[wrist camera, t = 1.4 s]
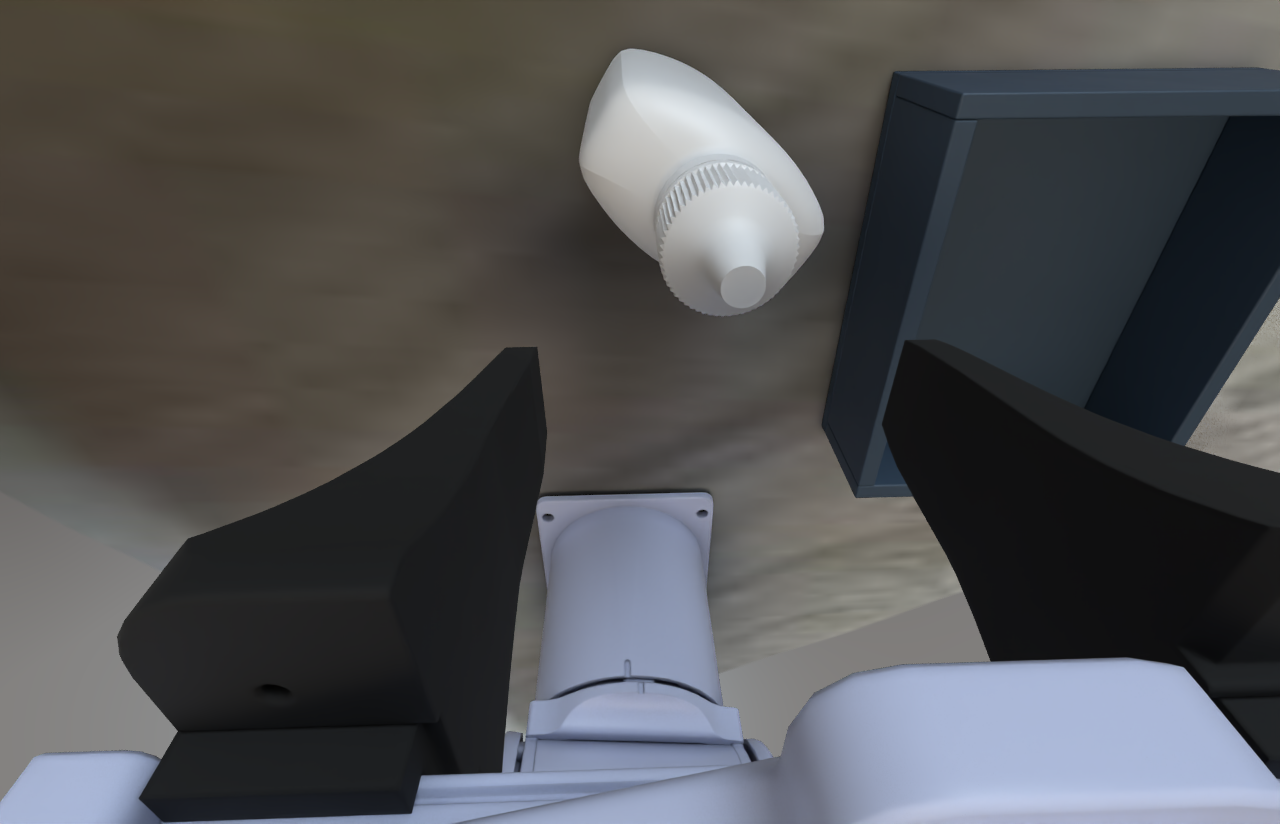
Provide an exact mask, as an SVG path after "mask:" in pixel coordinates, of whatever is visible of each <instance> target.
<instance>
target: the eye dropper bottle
mask: <svg viewBox="0 0 1280 824" xmlns="http://www.w3.org/2000/svg"><path fill="white" fill-rule="evenodd" d="M579 164H580V168H581V171H582V175H583V178H584V180H585V182H586V184H587V185H588V187H589V189H590V191H591V192H592V194H593V195H594V197H595V198H596V200H597V201H598V202H599V204H600V205H601V207H602V208H603V209H604V210H605V212H606V213H607V214H608V216H609V217H610V218H611V219H612V221H613V222H614V223H615V224H616V225H617V226H618V227H619V229H620V230H621V231H622V232H623V233H624V234H625V235H626V236H627V237H628V238H629V239H630V240H632V241H633V242H634V243H635V244H636V245H637V246H638V247H639V248H641V249H642V250H643V251H644V252H646V253H647V254H648V255H649V256H651V257H652V258H653V259H655V260H656V261H658V262H659V265H660V267H661V273H662V274H663V278H664V280H665V281H666V285H667V286H669V287H670V291H671V292H674V296H675V297H678V298H679V301H681V302H684V305H687V306H689V307H690V309H695V310H696V312H700V311H701V312H702V314H706V313H707V314H708V315H714V316H715V317H716V316H719V315H720V316H721V317H723V316H726V315H727V316H729V317H730V316H732V315H735V316H736V315H738V314H744V313H745V312H750V311H751V310H752V309H757V308H758V306H763V304H764V303H766V302H768V301H769V299H771V298H773V297H774V296H775V294H776V293H778V292H779V291H780V289H781V288H782V287H784V285H785V284H786V283H787V282H788V281H789V280H790V279H791V278H792V276H793V275H794V274H795V273H796V272H797V271H798V270H799V268H800V267H801V266H802V265H803V264H804V262H805V261H806V260H807V259H808V257H809V256H810V255H811V253H812V252H813V251H814V249H815V248H816V246H817V245H818V244H819V242H820V239H821V237H822V234H823V232H824V217H823V214H822V211H821V208H820V205H819V203H818V201H817V199H816V197H815V195H814V193H813V191H812V189H811V187H810V185H809V184H808V182H807V180H806V179H805V177H804V176H803V174H802V173H801V171H800V170H799V168H798V167H797V166H796V164H795V163H794V162H793V160H792V159H791V158H790V157H789V155H788V154H787V153H786V152H785V151H784V150H783V149H782V148H781V147H780V145H779V144H778V143H777V142H776V141H775V140H774V139H773V138H772V137H771V136H770V135H769V134H768V133H767V132H766V131H765V130H764V129H763V128H762V127H761V126H760V125H759V124H758V123H757V122H756V121H755V120H754V119H753V118H752V117H751V116H750V115H749V114H748V113H747V112H746V111H745V110H744V109H743V108H742V107H741V106H740V105H739V104H738V103H737V102H736V101H735V100H734V99H733V98H732V97H731V96H730V95H729V94H728V93H727V92H726V91H725V90H723V89H722V88H721V87H720V86H719V85H717V84H716V83H715V82H714V81H712V80H711V79H710V78H708V77H707V76H705V75H704V74H702V73H701V72H699V71H697V70H696V69H694V68H692V67H690V66H688V65H686V64H684V63H682V62H680V61H678V60H675V59H673V58H670V57H667V56H664V55H661V54H658V53H654V52H650V51H646V50H640V49H627V50H622V51H620V52H619V53H618V54H617V55H616V56H615V57H614V58H613V60H612V62H611V64H610V65H609V67H608V69H607V70H606V72H605V74H604V76H603V78H602V80H601V82H600V84H599V85H598V87H597V89H596V91H595V93H594V95H593V97H592V99H591V101H590V105H589V110H588V114H587V118H586V123H585V128H584V133H583V137H582V142H581V147H580V153H579Z"/></svg>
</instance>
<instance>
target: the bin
mask: <svg viewBox="0 0 1280 824" xmlns="http://www.w3.org/2000/svg"><path fill="white" fill-rule="evenodd" d="M1279 298H1280V71H1279V70H1269V69H1264V68H1175V69H1080V70H985V71H896V72H894V74H893V78H892V83H891V88H890V93H889V98H888V103H887V108H886V113H885V118H884V123H883V127H882V132H881V137H880V142H879V147H878V152H877V157H876V162H875V167H874V172H873V177H872V181H871V186H870V191H869V196H868V201H867V206H866V211H865V216H864V221H863V226H862V231H861V236H860V240H859V245H858V250H857V255H856V260H855V265H854V270H853V275H852V280H851V285H850V290H849V294H848V299H847V304H846V309H845V314H844V319H843V324H842V329H841V334H840V339H839V344H838V348H837V353H836V358H835V363H834V368H833V373H832V378H831V383H830V388H829V393H828V398H827V402H826V407H825V412H824V417H823V422H822V427H823V429H824V431H825V433H826V435H827V438H828V440H829V442H830V444H831V446H832V448H833V450H834V453H835V455H836V457H837V459H838V461H839V463H840V466H841V468H842V470H843V472H844V474H845V476H846V479H847V481H848V483H849V485H850V487H851V489H852V491H853V494H854V496H855V497H856V498H872V497H911V496H913V495H912V493H911V491H910V490H909V488H908V486H907V484H906V482H905V481H904V479H903V477H902V475H901V473H900V471H899V469H898V467H897V466H896V463H895V461H894V458H893V455H892V453H891V450H890V448H889V445H888V442H887V439H886V436H885V433H884V430H883V427H882V421H883V417H884V414H885V410H886V406H887V403H888V399H889V395H890V392H891V388H892V385H893V381H894V377H895V374H896V370H897V366H898V363H899V359H900V356H901V352H902V348H903V345H904V341H905V340H929V339H936V340H939V341H942V342H945V343H947V344H950V345H952V346H954V347H957V348H959V349H961V350H963V351H965V352H967V353H970V354H972V355H974V356H976V357H978V358H980V359H982V360H984V361H986V362H988V363H990V364H992V365H994V366H996V367H998V368H1000V369H1002V370H1004V371H1006V372H1008V373H1010V374H1012V375H1014V376H1016V377H1018V378H1020V379H1022V380H1024V381H1026V382H1028V383H1030V384H1032V385H1034V386H1036V387H1038V388H1040V389H1042V390H1044V391H1046V392H1048V393H1050V394H1053V395H1055V396H1057V397H1059V398H1061V399H1064V400H1066V401H1068V402H1070V403H1072V404H1075V405H1077V406H1079V407H1081V408H1084V409H1086V410H1088V411H1090V412H1093V413H1095V414H1098V415H1100V416H1103V417H1105V418H1107V419H1110V420H1112V421H1115V422H1118V423H1120V424H1123V425H1126V426H1128V427H1131V428H1134V429H1136V430H1139V431H1142V432H1145V433H1147V434H1150V435H1153V436H1155V437H1158V438H1161V439H1164V440H1167V441H1170V442H1173V443H1176V444H1179V445H1182V446H1185V445H1186V443H1187V442H1188V440H1189V438H1190V437H1191V435H1192V434H1193V432H1194V431H1195V429H1196V428H1197V426H1198V424H1199V423H1200V421H1201V420H1202V418H1203V417H1204V415H1205V413H1206V412H1207V410H1208V409H1209V407H1210V406H1211V404H1212V403H1213V401H1214V399H1215V398H1216V396H1217V395H1218V393H1219V392H1220V390H1221V388H1222V387H1223V385H1224V384H1225V382H1226V381H1227V379H1228V378H1229V376H1230V374H1231V373H1232V371H1233V370H1234V368H1235V367H1236V365H1237V363H1238V362H1239V360H1240V359H1241V357H1242V356H1243V354H1244V353H1245V351H1246V349H1247V348H1248V346H1249V345H1250V343H1251V342H1252V340H1253V338H1254V337H1255V335H1256V334H1257V332H1258V331H1259V329H1260V328H1261V326H1262V324H1263V323H1264V321H1265V320H1266V318H1267V317H1268V315H1269V313H1270V312H1271V310H1272V309H1273V307H1274V306H1275V304H1276V303H1277V301H1278V299H1279Z"/></svg>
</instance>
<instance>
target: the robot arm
mask: <svg viewBox="0 0 1280 824" xmlns="http://www.w3.org/2000/svg"><path fill="white" fill-rule="evenodd" d="M882 427H883V430H884V433H885V436H886V439H887V442H888V445H889V448H890V450H891V453H892V455H893V458H894V461H895V463H896V466H897V467H898V469H899V471H900V473H901V475H902V477H903V479H904V481H905V482H906V484H907V486H908V488H909V490H910V491H911V493H912V495H913V497H914V499H915V500H916V502H917V504H918V506H919V507H920V509H921V511H922V513H923V515H924V516H925V518H926V520H927V522H928V523H929V525H930V527H931V529H932V530H933V532H934V534H935V536H936V538H937V539H938V541H939V543H940V545H941V546H942V548H943V550H944V552H945V553H946V555H947V557H948V559H949V561H950V563H951V565H952V567H953V569H954V571H955V573H956V576H957V578H958V580H959V583H960V585H961V587H962V590H963V592H964V595H965V597H966V599H967V602H968V604H969V606H970V609H971V611H972V614H973V616H974V619H975V621H976V624H977V626H978V629H979V632H980V634H981V637H982V640H983V642H984V645H985V647H986V650H987V653H988V656H989V658H990V661H991V662H964V663H963V662H962V663H933V664H932V663H930V664H902V665H896V666H890V667H885V668H879V669H873V670H868V671H862V672H856V673H852V674H850V675H849V676H846V677H844V678H843V679H841V680H839V681H837V682H835V683H833V684H831V685H829V686H827V687H825V688H823V689H821V690H819V691H817V692H815V693H814V694H813V695H812V697H811V698H810V699H809V700H808V702H807V703H806V705H805V706H804V707H803V708H802V710H801V711H800V712H799V714H798V715H797V716H796V718H795V719H794V720H793V722H792V723H791V724H790V726H789V727H788V730H787V734H786V739H785V742H784V746H783V750H782V754H781V756H779V757H773V756H772V754H771V753H770V751H769V749H768V748H767V747H766V746H765V745H764V744H763V743H762V742H761V741H759V740H756V739H743V735H742V729H741V722H740V717H739V711H738V709H737V708H735V707H725V706H723V701H722V694H721V687H720V680H719V673H718V666H717V660H716V653H715V646H714V639H713V632H712V626H711V619H710V612H709V605H708V599H707V592H706V588H707V576H708V565H709V553H710V541H711V530H712V518H713V506H714V504H713V499H712V496H711V495H710V494H708V493H704V492H695V493H656V494H616V495H577V496H545V497H542V498H540V499H539V500H538V497H539V492H540V488H541V483H542V478H543V474H544V463H545V452H546V439H547V427H546V418H545V410H544V401H543V392H542V384H541V375H540V367H539V358H538V349H537V347H512V348H505V349H504V350H503V351H502V352H501V353H500V354H499V355H498V356H497V357H496V358H495V359H494V360H493V361H492V362H490V363H489V364H488V365H487V366H486V367H485V368H484V369H483V370H482V371H481V372H480V373H479V374H478V375H477V376H476V377H475V378H474V379H473V380H472V381H471V382H470V383H469V384H468V385H467V386H466V387H465V388H464V389H463V390H462V391H461V392H460V393H459V394H458V395H456V396H455V397H454V398H453V399H452V400H451V401H449V402H448V403H447V404H446V405H445V406H443V407H442V408H441V409H440V410H439V411H437V412H436V413H435V414H434V415H433V416H432V417H430V418H429V419H428V420H427V421H426V422H424V423H423V424H422V425H420V426H419V427H418V428H416V429H415V430H414V431H412V432H411V433H410V434H408V435H407V436H405V437H404V438H402V439H401V440H399V441H398V442H396V443H395V444H393V445H392V446H390V447H389V448H387V449H386V450H384V451H383V452H381V453H380V454H378V455H376V456H375V457H373V458H371V459H369V460H368V461H366V462H364V463H362V464H360V465H359V466H357V467H355V468H353V469H352V470H350V471H348V472H346V473H344V474H343V475H341V476H339V477H337V478H335V479H334V480H332V481H330V482H328V483H326V484H324V485H321V486H319V487H317V488H315V489H313V490H311V491H309V492H307V493H305V494H303V495H300V496H298V497H296V498H294V499H291V500H289V501H287V502H284V503H282V504H280V505H278V506H275V507H273V508H270V509H268V510H265V511H263V512H261V513H258V514H255V515H253V516H250V517H247V518H244V519H242V520H239V521H236V522H234V523H231V524H228V525H225V526H223V527H220V528H217V529H214V530H212V531H209V532H206V533H204V534H201V535H197V536H194V537H191V538H188V539H187V541H186V542H185V543H184V544H183V545H182V547H181V548H180V549H179V550H178V552H177V553H176V554H175V555H174V557H173V558H172V559H171V561H170V562H169V563H168V565H167V566H166V567H165V568H164V570H163V571H162V572H161V574H160V575H159V577H158V578H157V579H156V580H155V581H154V583H153V584H152V585H151V587H150V588H149V589H148V591H147V592H146V593H145V594H144V596H143V597H142V598H141V599H140V601H139V602H138V603H137V605H136V606H135V607H134V609H133V610H132V611H131V613H130V614H129V615H128V617H127V618H126V619H125V620H124V623H123V625H122V627H121V630H120V631H119V634H118V636H117V638H118V647H119V655H120V657H121V659H122V661H123V663H124V664H125V666H126V668H127V669H128V671H129V672H130V674H131V676H132V677H133V679H134V680H135V681H136V682H137V683H138V684H139V686H140V687H141V688H142V689H143V690H144V692H145V693H146V694H147V695H148V696H149V697H150V699H151V700H152V701H153V702H154V703H155V705H156V706H157V707H158V708H159V709H160V710H161V712H162V713H163V714H164V715H165V716H166V717H167V719H168V720H169V721H170V722H171V723H172V724H173V726H174V727H175V728H176V729H177V730H178V732H177V734H176V735H175V737H174V739H173V741H172V742H171V744H170V746H169V747H168V749H167V751H166V752H165V754H164V756H163V758H162V759H160V758H158V757H156V756H154V755H150V754H147V753H144V752H140V751H128V750H119V751H90V752H59V753H44V754H41V755H38V756H35V757H34V758H33V759H32V761H31V762H30V763H29V765H28V766H27V767H26V769H25V770H24V771H23V773H22V774H21V775H20V777H19V778H18V779H17V781H16V782H15V783H14V785H13V786H12V787H11V789H10V790H9V791H8V792H7V794H6V795H5V796H4V798H3V799H2V800H1V802H0V824H1280V473H1278V472H1274V471H1269V470H1266V469H1262V468H1258V467H1254V466H1251V465H1247V464H1243V463H1239V462H1236V461H1232V460H1229V459H1225V458H1222V457H1219V456H1215V455H1212V454H1209V453H1205V452H1202V451H1199V450H1195V449H1192V448H1189V447H1186V446H1182V445H1179V444H1176V443H1173V442H1170V441H1167V440H1164V439H1161V438H1158V437H1155V436H1153V435H1150V434H1147V433H1145V432H1142V431H1139V430H1136V429H1134V428H1131V427H1128V426H1126V425H1123V424H1120V423H1118V422H1115V421H1112V420H1110V419H1107V418H1105V417H1103V416H1100V415H1098V414H1095V413H1093V412H1090V411H1088V410H1086V409H1084V408H1081V407H1079V406H1077V405H1075V404H1072V403H1070V402H1068V401H1066V400H1064V399H1061V398H1059V397H1057V396H1055V395H1053V394H1050V393H1048V392H1046V391H1044V390H1042V389H1040V388H1038V387H1036V386H1034V385H1032V384H1030V383H1028V382H1026V381H1024V380H1022V379H1020V378H1018V377H1016V376H1014V375H1012V374H1010V373H1008V372H1006V371H1004V370H1002V369H1000V368H998V367H996V366H994V365H992V364H990V363H988V362H986V361H984V360H982V359H980V358H978V357H976V356H974V355H972V354H970V353H967V352H965V351H963V350H961V349H959V348H957V347H954V346H952V345H950V344H947V343H945V342H942V341H939V340H936V339H929V340H905V341H904V345H903V348H902V352H901V356H900V359H899V363H898V366H897V370H896V374H895V377H894V381H893V385H892V388H891V392H890V395H889V399H888V403H887V406H886V410H885V414H884V417H883V421H882ZM535 510H536V513H537V520H538V527H539V534H540V541H541V549H542V556H543V563H544V570H545V577H546V584H547V600H546V609H545V617H544V626H543V635H542V643H541V652H540V661H539V670H538V678H537V687H536V696H535V700H534V701H531V702H530V706H529V714H528V722H527V730H526V740H525V742H523V733H519V732H512V731H509V732H507V733H506V734H505V727H506V716H507V704H508V692H509V681H510V670H511V660H512V650H513V640H514V630H515V621H516V612H517V603H518V594H519V586H520V580H521V574H522V569H523V563H524V559H525V555H526V550H527V546H528V541H529V537H530V532H531V528H532V524H533V519H534V515H535ZM699 510H705V511H703V512H698V511H699ZM545 514H551V516H547V515H545Z"/></svg>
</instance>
